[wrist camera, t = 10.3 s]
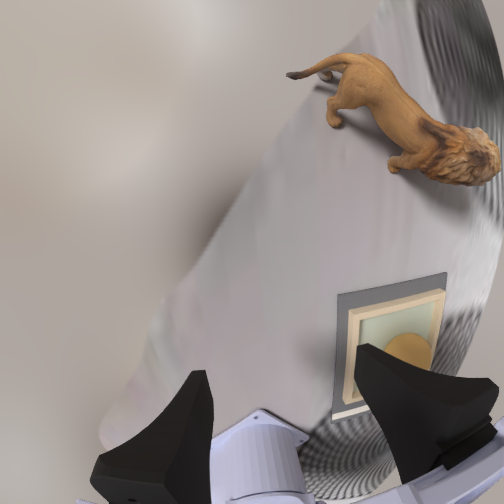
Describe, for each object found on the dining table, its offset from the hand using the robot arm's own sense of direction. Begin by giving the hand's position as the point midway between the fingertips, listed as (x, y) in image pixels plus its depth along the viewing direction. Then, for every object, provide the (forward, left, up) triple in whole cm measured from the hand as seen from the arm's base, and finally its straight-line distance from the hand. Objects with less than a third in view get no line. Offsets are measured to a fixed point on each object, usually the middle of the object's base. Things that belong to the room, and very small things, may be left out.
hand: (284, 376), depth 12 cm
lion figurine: (+16, +3, -10) cm, 19 cm away
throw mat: (+4, -14, -9) cm, 17 cm away
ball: (+5, -13, -7) cm, 16 cm away
